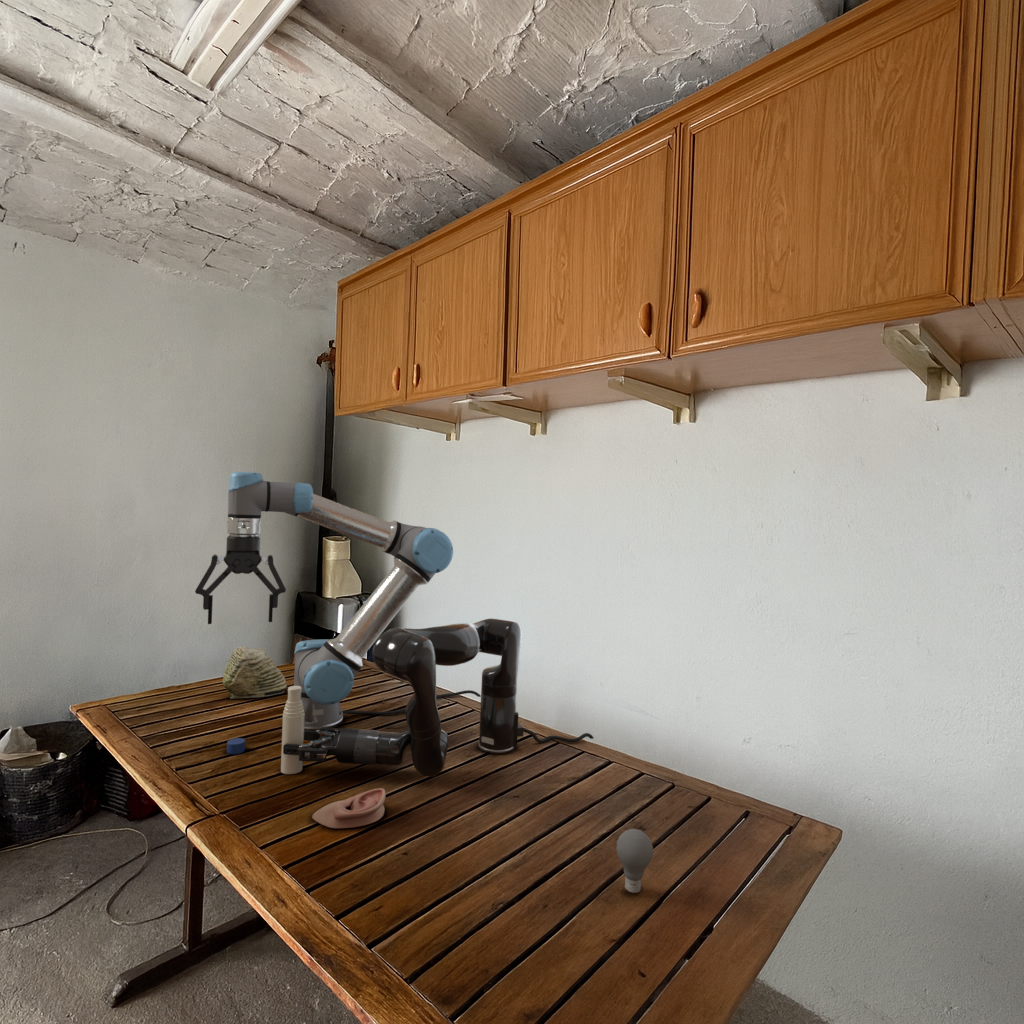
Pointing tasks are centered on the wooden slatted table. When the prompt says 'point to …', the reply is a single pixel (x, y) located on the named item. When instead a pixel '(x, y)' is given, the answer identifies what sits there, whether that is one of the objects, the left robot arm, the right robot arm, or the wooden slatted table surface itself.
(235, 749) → the cap
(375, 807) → the anatomical model
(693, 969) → the wooden slatted table surface
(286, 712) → the bottle
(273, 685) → the fossil
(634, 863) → the light bulb
